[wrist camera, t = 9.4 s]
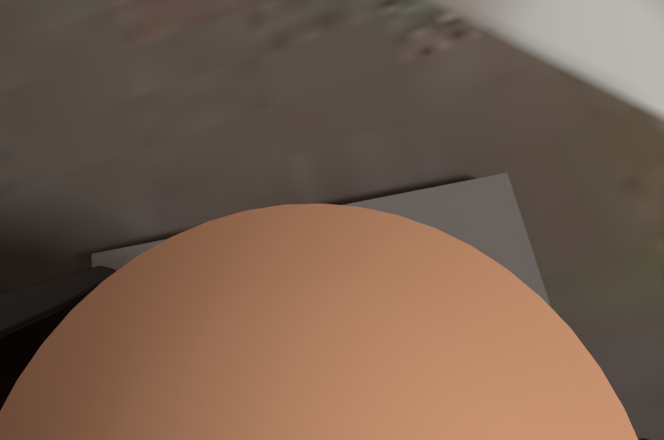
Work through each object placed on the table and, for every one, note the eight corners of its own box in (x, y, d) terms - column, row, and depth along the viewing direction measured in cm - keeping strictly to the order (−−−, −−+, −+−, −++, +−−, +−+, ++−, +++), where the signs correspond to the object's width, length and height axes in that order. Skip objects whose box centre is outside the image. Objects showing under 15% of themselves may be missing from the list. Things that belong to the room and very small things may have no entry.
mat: (647, 656, 12) (671, 677, 11) (135, 767, 12) (116, 798, 11) (498, 186, 16) (507, 172, 15) (107, 262, 16) (91, 253, 15)
